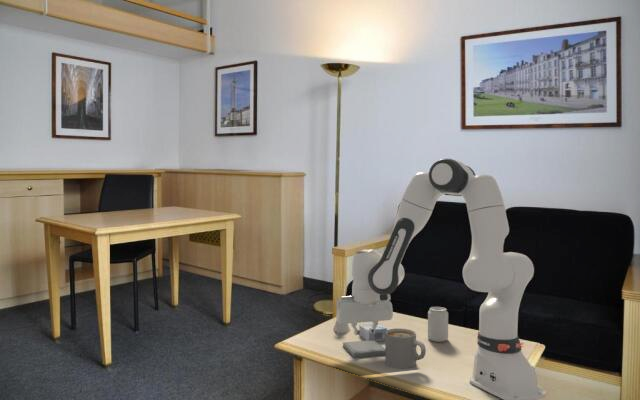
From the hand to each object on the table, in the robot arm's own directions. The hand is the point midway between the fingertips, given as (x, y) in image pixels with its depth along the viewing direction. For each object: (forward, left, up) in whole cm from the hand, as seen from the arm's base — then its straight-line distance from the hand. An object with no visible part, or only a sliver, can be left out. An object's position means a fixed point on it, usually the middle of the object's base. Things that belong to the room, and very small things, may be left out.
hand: (364, 334), depth 177 cm
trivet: (0, 0, -6) cm, 6 cm away
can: (+4, -31, -6) cm, 32 cm away
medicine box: (+8, -8, -4) cm, 12 cm away
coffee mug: (-16, -8, -6) cm, 19 cm away
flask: (+23, +1, -6) cm, 24 cm away
